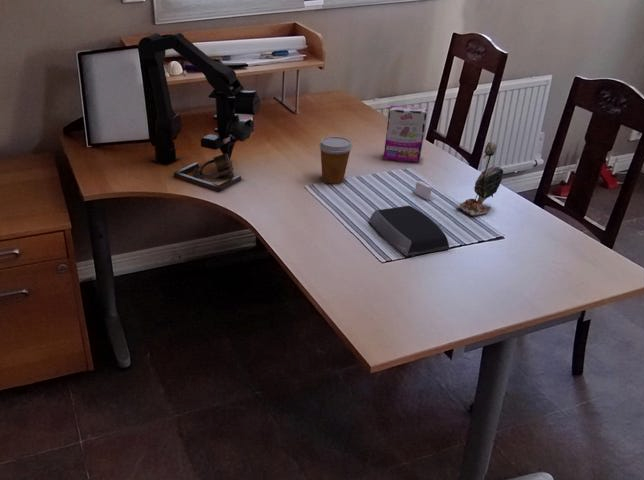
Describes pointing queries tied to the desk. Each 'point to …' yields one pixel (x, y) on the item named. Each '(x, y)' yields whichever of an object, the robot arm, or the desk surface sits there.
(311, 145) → the desk surface
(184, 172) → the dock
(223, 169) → the mechanical counter
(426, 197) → the eraser
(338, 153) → the disposable coffee cup
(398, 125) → the candy bar box
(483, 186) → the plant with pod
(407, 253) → the hard drive
